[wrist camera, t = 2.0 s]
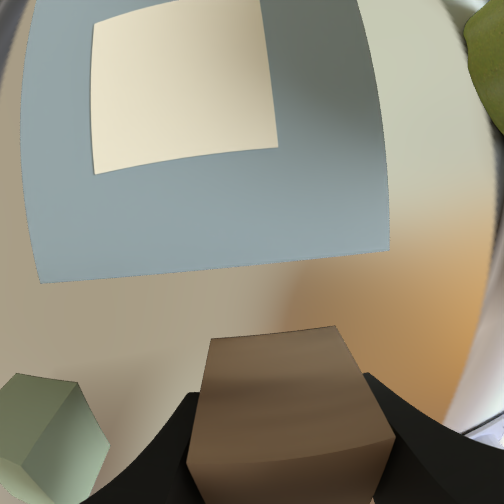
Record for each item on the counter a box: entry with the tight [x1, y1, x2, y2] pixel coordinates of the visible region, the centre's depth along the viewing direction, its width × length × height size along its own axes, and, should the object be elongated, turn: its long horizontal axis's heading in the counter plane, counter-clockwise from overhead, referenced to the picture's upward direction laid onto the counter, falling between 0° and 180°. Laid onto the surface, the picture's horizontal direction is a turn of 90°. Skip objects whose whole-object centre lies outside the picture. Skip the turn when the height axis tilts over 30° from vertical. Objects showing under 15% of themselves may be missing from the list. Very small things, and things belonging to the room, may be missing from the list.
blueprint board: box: [20, 0, 389, 284], centre depth 7 cm, size 11×11×1 cm
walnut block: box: [186, 325, 396, 504], centre depth 7 cm, size 4×4×5 cm
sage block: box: [0, 373, 110, 504], centre depth 8 cm, size 4×4×5 cm
